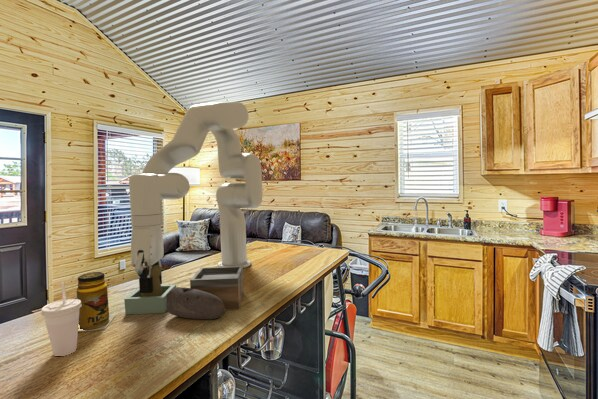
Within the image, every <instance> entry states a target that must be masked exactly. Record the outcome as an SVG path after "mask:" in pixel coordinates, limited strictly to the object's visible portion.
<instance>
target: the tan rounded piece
mask: <svg viewBox="0 0 598 399" xmlns="http://www.w3.org/2000/svg"><path fill="white" fill-rule="evenodd" d="M143 269H145V270H146V271H147V269H148V268H143ZM161 274H162V268H160V267H159V266H158V265H152V267H151V277H153V292H152V293H141V297H152V296H162V295H163V293H162V288H161V285H162V284H160V279H159V276H160V275H161Z"/></svg>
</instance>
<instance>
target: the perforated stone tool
mask: <svg viewBox="0 0 598 399" xmlns="http://www.w3.org/2000/svg"><path fill="white" fill-rule="evenodd" d="M166 307H167V310H166V311H167V312H168V314H171V315H172V316H176V317H180V318H184V319H191V320H192V319H194V320H214V319H218V318H221V317H222V316H223V315H224V314H225V313H226V312H225V311H226V310H225V307H224V304H223V302H222V300H221V299H220V298H218V297H217V296H215V295H213V294H211V293H208V292H205V291H201V290H197V289H192V288H190V287H182V286H181V287H179V286H176V288H173V289H171V290H170V291H169V292H168V293H167V295H166Z"/></svg>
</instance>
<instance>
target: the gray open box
mask: <svg viewBox="0 0 598 399" xmlns="http://www.w3.org/2000/svg"><path fill="white" fill-rule="evenodd" d="M189 286H190V287H189V288H192V289H197V290H201V291H205V292H208V293H211V294H213V295H215V296H217V297H218V298H220V299H221V300H222V302H223V304H224V307H225V311H227V310H228V311H229V310H240V306H241V303H242V301H243V300H242V299H243V298H244V292H245V288H244V286H245V285H244V268H243V266H234V267H218V266H212V267H211V266H210V267H209V266H208V267H200V268H199V269H198V271H196V273H194V275H193V276H192V277H191V278H190V280H189Z"/></svg>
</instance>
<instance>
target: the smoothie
mask: <svg viewBox="0 0 598 399" xmlns="http://www.w3.org/2000/svg"><path fill="white" fill-rule="evenodd" d="M60 283H61V294H62V296H61V297H62V299H59V300H57V301H53V302H50V303H48V304H46V305H44V306H43V307H42V308H41V309H40V310H41V311H40V312H41V313H40V315H41V316H42V317H43V319H44V323H45V326H46V330H47V334H48V338H49V342H50V347H51V350H52V354H54V355H55V356H64V357H66V356H65V355H67V356H69V355H68V354H70V355H72V354H74V353H75V352H76V351H77V350H78V349H77V348H78V337H79V335H78V333H79V332H78V324H79V310H80V307H81V306H82V305H81V300H79V299H77V298H67V294H66V282H65V281H61V282H60ZM76 349H77V350H76ZM73 352H74V353H73ZM71 353H72V354H71ZM54 355H53V356H54Z"/></svg>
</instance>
